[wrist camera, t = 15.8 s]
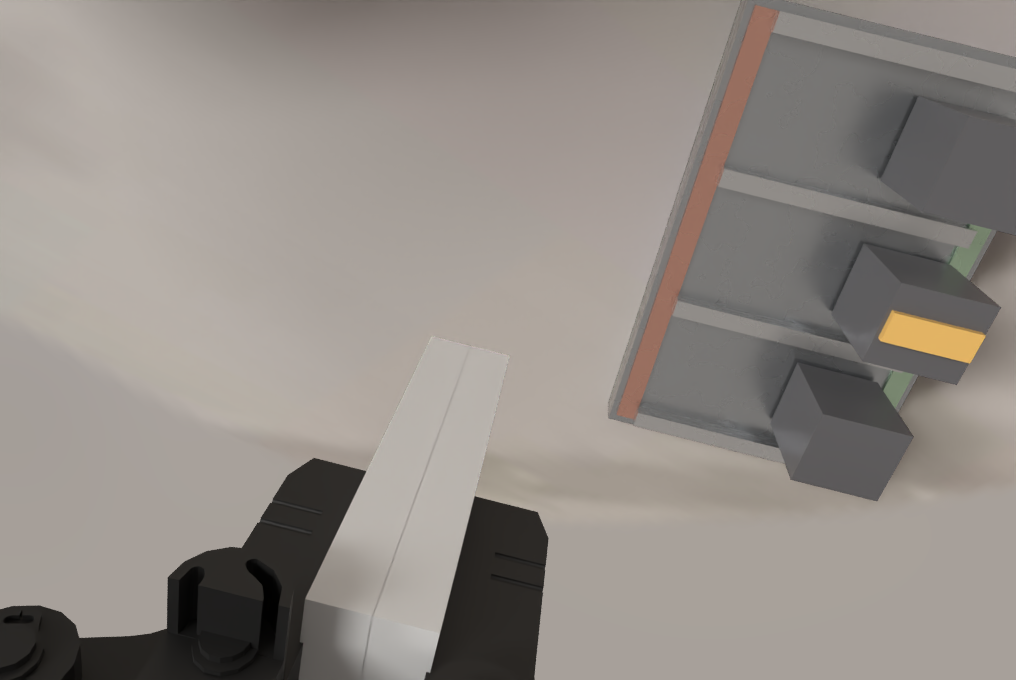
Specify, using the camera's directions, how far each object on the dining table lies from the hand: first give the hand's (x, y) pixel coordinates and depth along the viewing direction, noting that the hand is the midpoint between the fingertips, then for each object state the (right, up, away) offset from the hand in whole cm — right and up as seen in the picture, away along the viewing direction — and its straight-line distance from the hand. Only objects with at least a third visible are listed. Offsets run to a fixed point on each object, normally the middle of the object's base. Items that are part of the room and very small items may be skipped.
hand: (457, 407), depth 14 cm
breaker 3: (+23, +4, +29) cm, 37 cm away
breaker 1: (+21, -3, +32) cm, 38 cm away
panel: (+19, +6, +31) cm, 37 cm away
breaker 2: (+24, +11, +25) cm, 36 cm away
